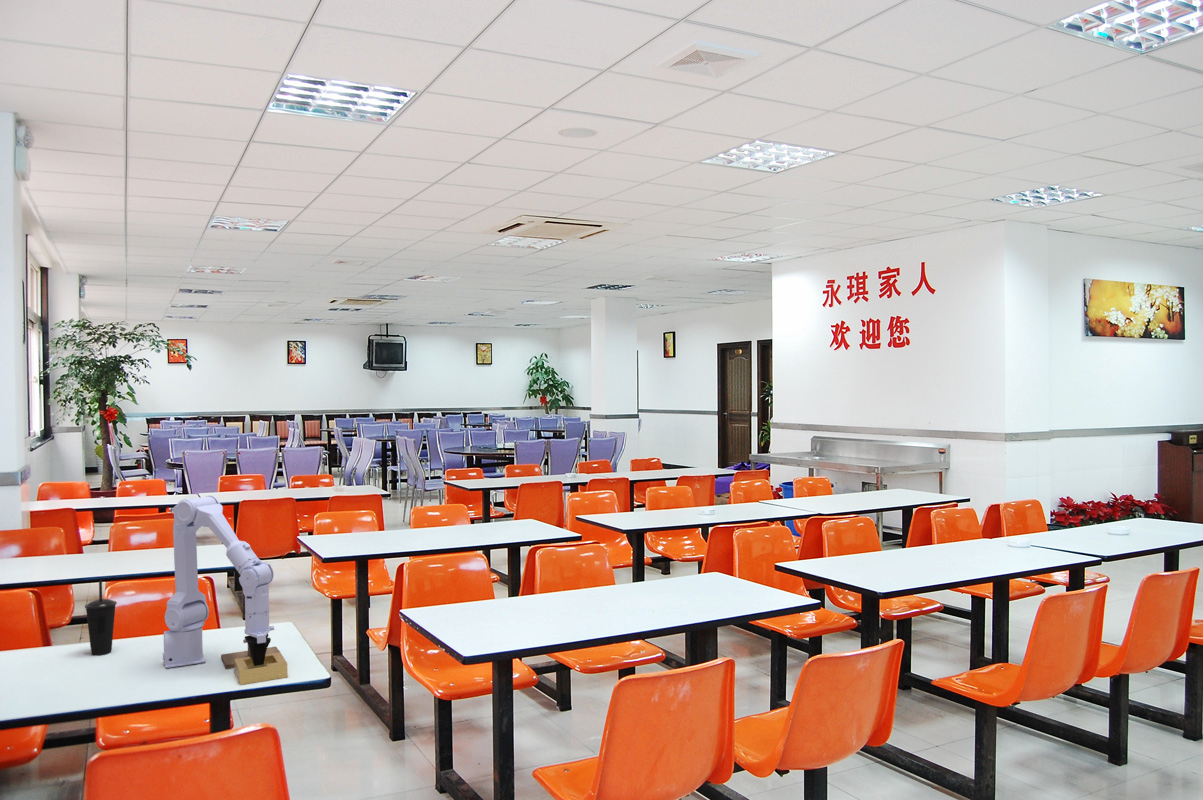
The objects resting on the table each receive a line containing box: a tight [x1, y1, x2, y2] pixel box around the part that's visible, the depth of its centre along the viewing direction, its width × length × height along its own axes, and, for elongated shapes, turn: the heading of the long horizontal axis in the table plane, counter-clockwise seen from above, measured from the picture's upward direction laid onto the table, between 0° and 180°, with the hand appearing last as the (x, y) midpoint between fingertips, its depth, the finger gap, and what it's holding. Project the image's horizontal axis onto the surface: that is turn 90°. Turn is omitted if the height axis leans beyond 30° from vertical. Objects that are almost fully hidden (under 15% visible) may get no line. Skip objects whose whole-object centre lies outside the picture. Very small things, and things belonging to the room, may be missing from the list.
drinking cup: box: [84, 580, 118, 657], centre depth 240 cm, size 8×8×20 cm
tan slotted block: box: [233, 652, 288, 686], centre depth 218 cm, size 11×11×4 cm
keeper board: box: [220, 638, 283, 670], centre depth 232 cm, size 14×11×6 cm
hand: (257, 664), depth 222 cm, fingers closed on tan slotted block, 2 cm apart
